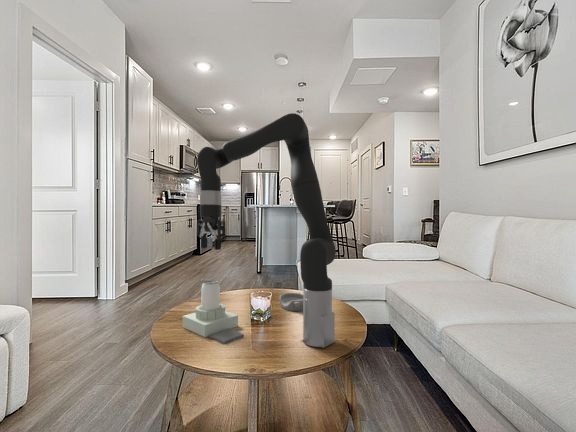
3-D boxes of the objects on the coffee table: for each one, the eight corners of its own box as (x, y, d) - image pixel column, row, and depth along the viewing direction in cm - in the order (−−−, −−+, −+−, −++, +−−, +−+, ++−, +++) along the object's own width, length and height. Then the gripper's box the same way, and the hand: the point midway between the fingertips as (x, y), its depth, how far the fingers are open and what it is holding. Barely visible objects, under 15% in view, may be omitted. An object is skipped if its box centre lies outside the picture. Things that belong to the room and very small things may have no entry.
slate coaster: (243, 336, 104) (243, 334, 104) (223, 343, 98) (223, 341, 98) (228, 330, 109) (228, 328, 109) (209, 337, 103) (209, 334, 103)
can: (222, 312, 116) (222, 280, 116) (216, 318, 109) (216, 284, 109) (205, 312, 117) (205, 280, 116) (198, 318, 110) (198, 283, 110)
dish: (301, 314, 128) (301, 302, 128) (272, 309, 135) (273, 297, 135) (316, 305, 140) (316, 294, 140) (289, 301, 147) (289, 290, 147)
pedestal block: (238, 326, 114) (238, 306, 114) (204, 337, 103) (204, 316, 103) (215, 317, 123) (215, 299, 123) (182, 327, 112) (182, 307, 112)
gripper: (231, 203, 111) (231, 249, 111) (208, 204, 120) (208, 246, 120) (213, 203, 105) (213, 251, 105) (190, 203, 115) (190, 248, 115)
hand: (210, 248), depth 113 cm, fingers open, 8 cm apart
